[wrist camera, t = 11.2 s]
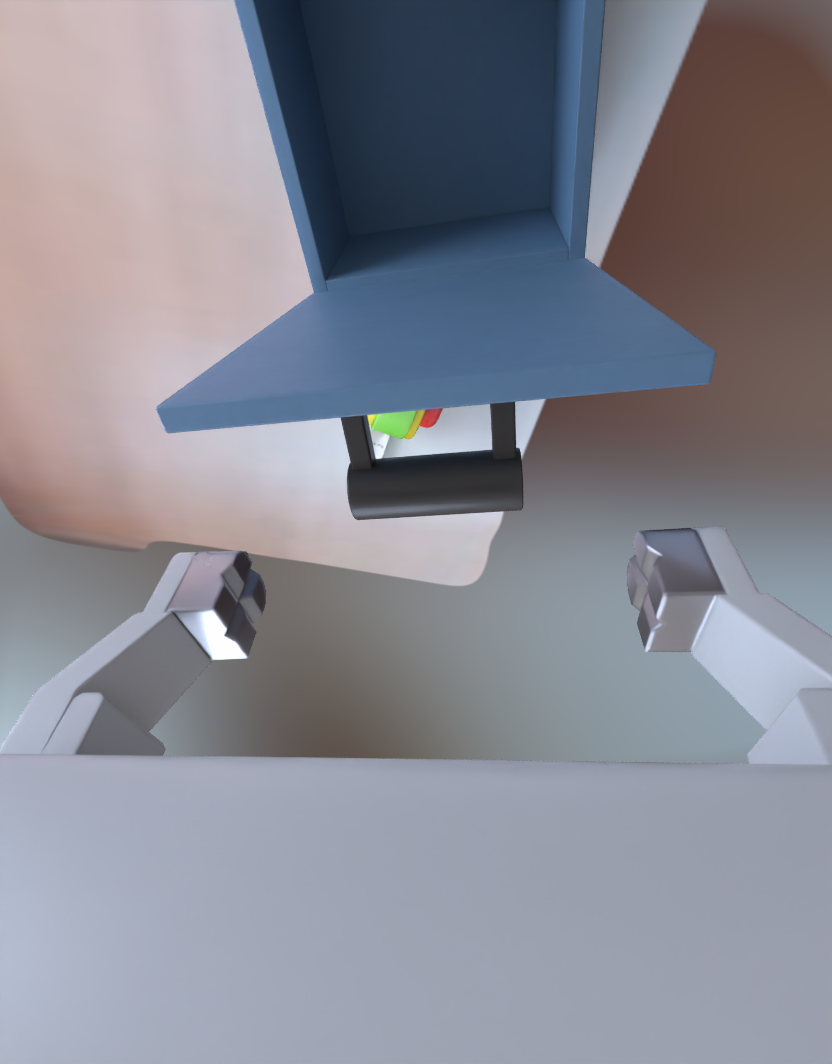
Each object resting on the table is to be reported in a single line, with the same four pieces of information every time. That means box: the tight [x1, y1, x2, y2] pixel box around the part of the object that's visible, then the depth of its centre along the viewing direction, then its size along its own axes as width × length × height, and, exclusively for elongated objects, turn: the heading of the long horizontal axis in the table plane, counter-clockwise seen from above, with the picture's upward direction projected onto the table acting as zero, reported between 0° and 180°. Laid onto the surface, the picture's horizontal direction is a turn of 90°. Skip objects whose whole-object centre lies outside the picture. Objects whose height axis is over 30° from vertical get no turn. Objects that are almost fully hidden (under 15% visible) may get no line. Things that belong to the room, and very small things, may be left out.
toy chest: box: [234, 0, 605, 293], centre depth 24 cm, size 16×14×9 cm
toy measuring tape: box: [347, 408, 443, 494], centre depth 40 cm, size 6×20×7 cm, turn 160°
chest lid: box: [156, 258, 716, 520], centre depth 21 cm, size 16×14×5 cm
